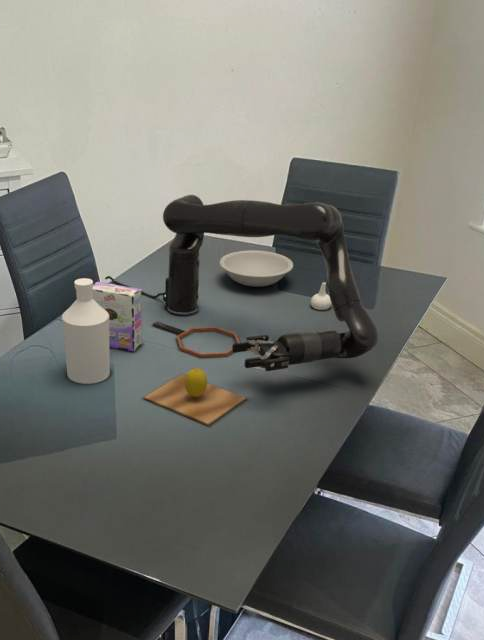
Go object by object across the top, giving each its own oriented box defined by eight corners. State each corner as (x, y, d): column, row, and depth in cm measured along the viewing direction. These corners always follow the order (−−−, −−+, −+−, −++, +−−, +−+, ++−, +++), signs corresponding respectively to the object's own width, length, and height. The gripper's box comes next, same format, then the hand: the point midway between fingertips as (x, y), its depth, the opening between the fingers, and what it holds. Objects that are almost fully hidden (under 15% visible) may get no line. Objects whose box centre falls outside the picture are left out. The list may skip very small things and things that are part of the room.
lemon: (204, 403, 183) (206, 374, 178) (182, 401, 184) (183, 372, 179) (207, 393, 187) (209, 364, 182) (186, 390, 188) (187, 362, 183)
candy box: (142, 344, 210) (142, 288, 200) (133, 352, 206) (133, 295, 196) (99, 335, 215) (97, 280, 204) (90, 343, 211) (87, 287, 200)
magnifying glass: (136, 334, 215) (136, 331, 215) (172, 315, 226) (172, 312, 225) (215, 363, 201) (215, 359, 200) (250, 341, 211) (250, 338, 211)
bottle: (60, 367, 199) (53, 277, 183) (101, 359, 203) (97, 270, 187) (74, 387, 190) (68, 294, 175) (117, 379, 194) (115, 286, 178)
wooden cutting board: (143, 399, 186) (143, 396, 186) (182, 375, 196) (182, 373, 195) (208, 425, 176) (208, 423, 176) (245, 399, 186) (245, 397, 185)
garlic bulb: (329, 303, 233) (333, 278, 228) (331, 311, 228) (335, 286, 223) (309, 302, 233) (313, 277, 228) (311, 310, 228) (314, 285, 223)
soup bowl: (241, 264, 259) (242, 245, 255) (303, 279, 248) (306, 259, 244) (204, 285, 244) (205, 265, 240) (269, 302, 233) (271, 282, 229)
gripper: (289, 322, 188) (229, 329, 184) (314, 346, 177) (250, 354, 174) (286, 349, 192) (227, 356, 189) (309, 374, 182) (248, 383, 178)
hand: (238, 355), depth 181 cm, fingers open, 8 cm apart
